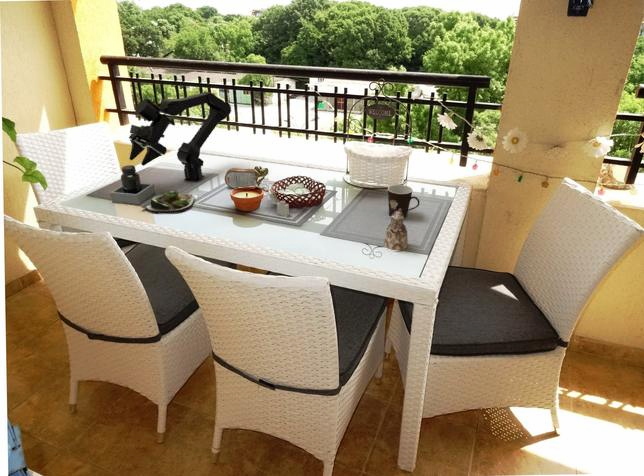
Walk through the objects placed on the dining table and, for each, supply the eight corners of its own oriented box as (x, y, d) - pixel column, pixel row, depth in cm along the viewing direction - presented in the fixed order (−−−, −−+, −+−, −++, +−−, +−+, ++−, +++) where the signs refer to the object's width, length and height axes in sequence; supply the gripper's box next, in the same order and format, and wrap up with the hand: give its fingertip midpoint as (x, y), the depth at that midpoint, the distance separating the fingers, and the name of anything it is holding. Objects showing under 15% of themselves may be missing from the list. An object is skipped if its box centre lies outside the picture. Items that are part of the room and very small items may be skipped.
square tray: (155, 193, 181) (153, 184, 180) (139, 204, 171) (137, 195, 170) (129, 191, 184) (127, 181, 182) (112, 202, 174) (109, 192, 172)
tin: (262, 187, 187) (261, 168, 183) (260, 190, 184) (259, 171, 180) (226, 186, 188) (224, 167, 184) (224, 189, 186) (222, 169, 182)
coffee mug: (381, 212, 165) (383, 186, 160) (401, 208, 168) (403, 183, 163) (398, 225, 155) (400, 198, 151) (419, 221, 158) (422, 194, 154)
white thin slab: (289, 215, 163) (288, 194, 159) (286, 216, 162) (285, 196, 158) (272, 211, 166) (271, 191, 162) (270, 213, 165) (268, 192, 161)
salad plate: (155, 194, 181) (153, 183, 179) (200, 194, 182) (198, 183, 180) (139, 214, 164) (136, 203, 162) (188, 214, 165) (186, 202, 163)
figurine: (380, 247, 142) (382, 212, 136) (389, 238, 147) (392, 204, 141) (401, 253, 138) (405, 218, 133) (410, 244, 144) (413, 209, 138)
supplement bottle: (121, 199, 175) (115, 170, 169) (129, 192, 181) (123, 164, 175) (139, 199, 174) (133, 170, 169) (146, 193, 180) (140, 164, 175)
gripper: (128, 112, 175) (107, 146, 173) (153, 120, 164) (131, 156, 162) (151, 128, 184) (131, 161, 182) (176, 137, 173) (155, 171, 171)
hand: (136, 162), depth 174 cm, fingers open, 9 cm apart
